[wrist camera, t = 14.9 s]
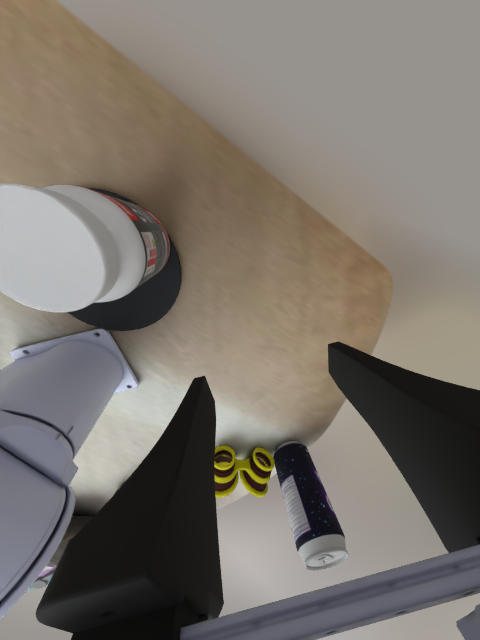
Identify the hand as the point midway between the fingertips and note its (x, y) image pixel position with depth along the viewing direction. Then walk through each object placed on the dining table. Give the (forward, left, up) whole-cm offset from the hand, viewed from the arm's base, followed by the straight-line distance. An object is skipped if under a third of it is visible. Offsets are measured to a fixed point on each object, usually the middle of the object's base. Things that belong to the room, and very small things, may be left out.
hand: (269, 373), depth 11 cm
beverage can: (+2, -26, -11) cm, 28 cm away
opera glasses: (-6, -24, -11) cm, 27 cm away
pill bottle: (-8, +8, -10) cm, 15 cm away
